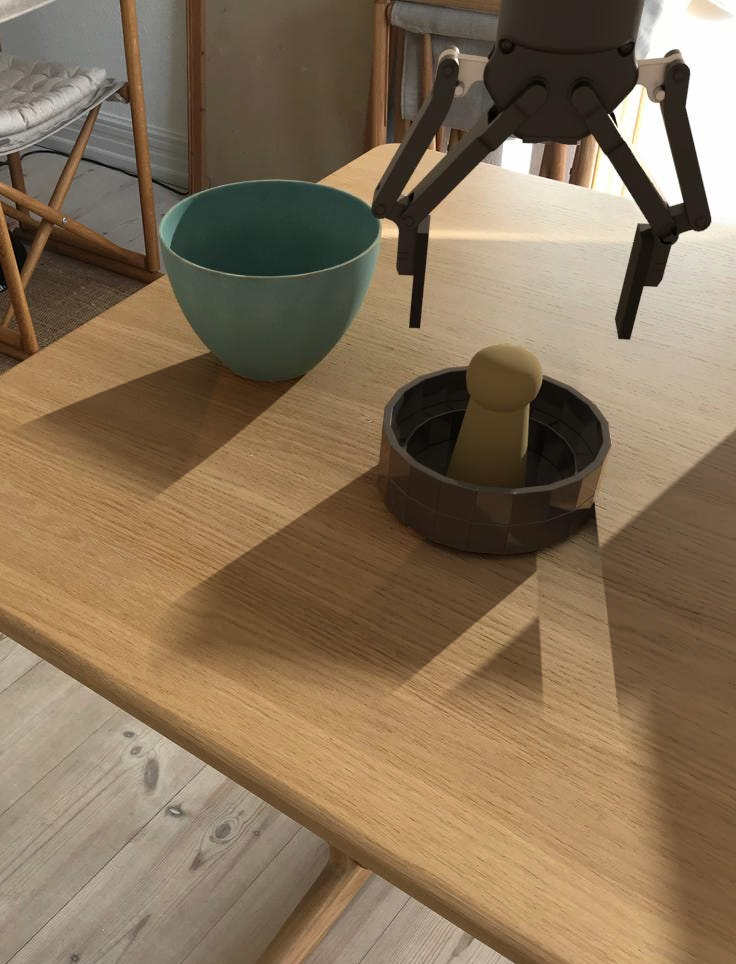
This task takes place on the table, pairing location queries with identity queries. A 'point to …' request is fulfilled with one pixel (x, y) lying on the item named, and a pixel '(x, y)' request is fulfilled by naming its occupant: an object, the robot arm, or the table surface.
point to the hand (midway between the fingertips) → (517, 324)
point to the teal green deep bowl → (270, 271)
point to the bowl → (490, 510)
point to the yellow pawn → (496, 418)
